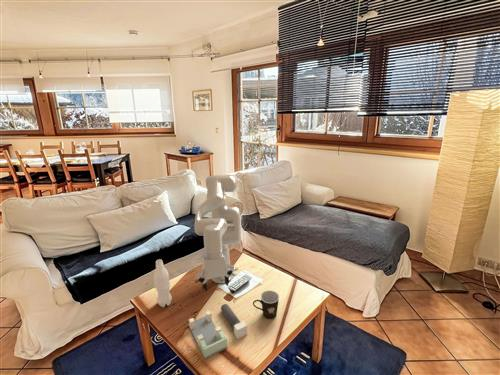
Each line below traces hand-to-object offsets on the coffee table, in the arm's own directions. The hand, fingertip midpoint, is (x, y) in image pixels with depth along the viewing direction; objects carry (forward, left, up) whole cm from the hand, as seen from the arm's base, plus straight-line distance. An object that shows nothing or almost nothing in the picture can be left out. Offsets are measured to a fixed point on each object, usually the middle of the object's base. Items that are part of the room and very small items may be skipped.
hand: (216, 286), depth 120 cm
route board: (+8, +5, -19) cm, 21 cm away
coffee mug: (-21, +8, -19) cm, 30 cm away
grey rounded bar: (-5, +4, -19) cm, 20 cm away
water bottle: (+19, -25, -19) cm, 36 cm away
